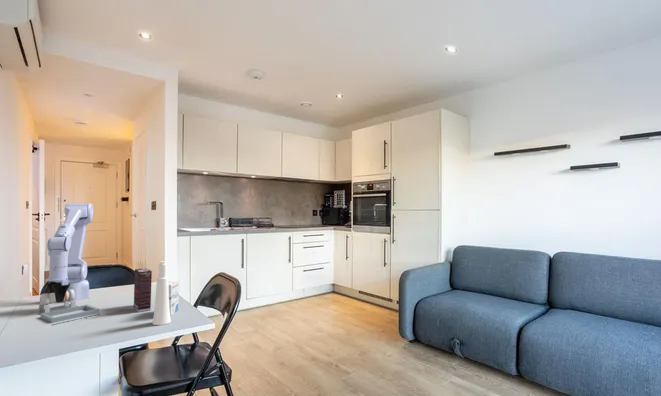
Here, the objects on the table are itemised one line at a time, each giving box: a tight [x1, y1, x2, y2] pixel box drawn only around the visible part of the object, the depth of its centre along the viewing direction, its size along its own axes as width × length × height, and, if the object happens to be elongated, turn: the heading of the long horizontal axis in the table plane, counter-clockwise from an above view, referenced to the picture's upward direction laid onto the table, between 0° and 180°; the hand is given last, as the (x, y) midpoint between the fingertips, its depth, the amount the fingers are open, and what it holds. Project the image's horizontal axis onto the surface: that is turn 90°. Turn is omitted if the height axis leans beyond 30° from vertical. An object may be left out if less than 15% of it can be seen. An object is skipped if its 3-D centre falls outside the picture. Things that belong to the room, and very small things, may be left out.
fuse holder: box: [32, 301, 78, 316], centre depth 138 cm, size 13×10×4 cm
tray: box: [40, 304, 100, 326], centre depth 131 cm, size 15×11×2 cm
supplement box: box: [133, 267, 153, 313], centre depth 142 cm, size 9×5×16 cm, turn 41°
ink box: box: [168, 280, 180, 317], centre depth 137 cm, size 8×5×12 cm, turn 5°
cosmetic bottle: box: [151, 260, 172, 326], centre depth 125 cm, size 6×6×22 cm
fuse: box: [39, 289, 75, 307], centre depth 138 cm, size 10×5×5 cm, turn 146°
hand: (57, 301), depth 138 cm, fingers closed on fuse, 4 cm apart
